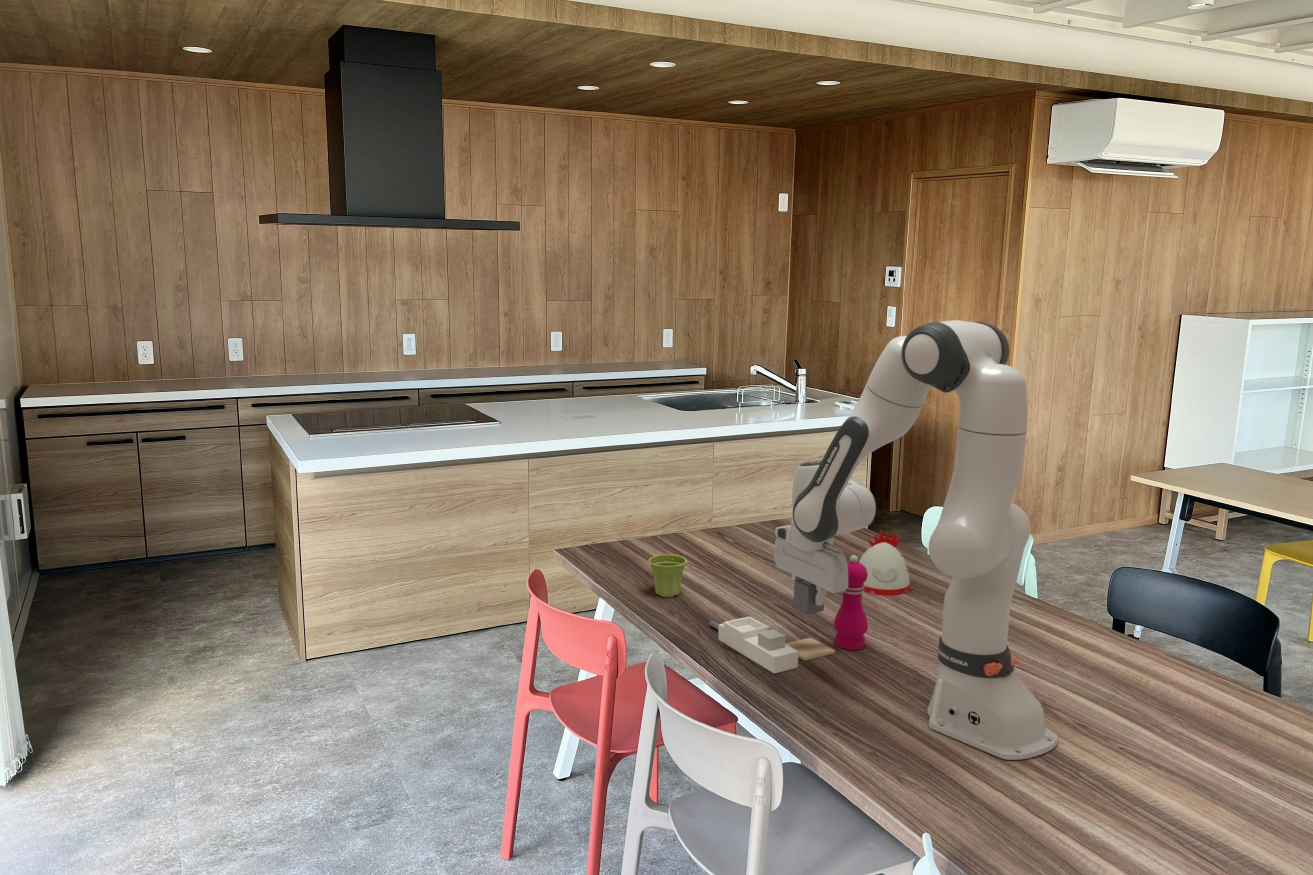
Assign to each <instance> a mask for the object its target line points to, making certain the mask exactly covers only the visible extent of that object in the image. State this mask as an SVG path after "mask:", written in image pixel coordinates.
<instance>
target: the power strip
mask: <svg viewBox="0 0 1313 875" xmlns="http://www.w3.org/2000/svg"><path fill="white" fill-rule="evenodd" d="M709 626H711V627H712V628H714V629H716V630H718V631H717V632H718V635H717V636H718V638H717V639H718V641H719V642H721V643H723V644H725V645H726V646H728V647H730V648H731V649H733V650H735V651H737V652H738V653H739V654H741V655H743V656H744V657H746V658H748V659H750V660H751V661H753V662H754V663H756V664H758V665H759V666H761V667H763V668H764V669H765V670H767V671H769V672H771V673H772V674H779V673H782V672H786V671H790V670H793V669H797V668H798V667H799V657H798V651H797V650H795V649H793V648H792V647H790V646H788V645H786V644H785V643H786V634H784V633H781V632H780V631H778V630H777V629H774V628H772V629H770V627H769V625H766V624H765V623H763V622H761V621H759V620H758V619H755V618H754V617H752V616H745V617H741V618H735V619H730V620H725V621H723V623H718V622H716V621H714V620H710V621H709Z"/></svg>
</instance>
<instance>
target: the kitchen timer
mask: <svg viewBox="0 0 1313 875" xmlns="http://www.w3.org/2000/svg"><path fill="white" fill-rule="evenodd" d="M879 531H880V532H879V535H878V536H879V537H878V536H877V535H876V533H874V534H873V536H874V542H872V541H871V539H870V537H868V543H869V547H868V548H867V549H866V551H864V553H863V554H862V555H861V557H860V559H859V560H858V562H859V563H861V564H863V565H864V566H865V568H866V569H867V574H868V576H867V580H866V581H865V582H864V583H863V584H864V586H865V587H864V592H863V593H866V594H870V595H875V596H882V597H883V596H884V597H886V596H889V597H891V596H892V597H893V596H900V595H904V594H906V593H908V592H909V591H910V586H911V580H910V575H909V571H908V566H907V562H908V560H906V558H904V556H903V555H902V553H901V552H900V550H899V549H898V548H897V547H898V545H899V543H900V541H901V539H902V535H900V536H899V537H898V538H897V535H896V531H893V533H892V536H891V538H890V534H889V531H888V529H887V530H886V532H885V537H884V534H883V529H880V530H879ZM896 538H897V539H896Z"/></svg>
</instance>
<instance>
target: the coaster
mask: <svg viewBox="0 0 1313 875" xmlns="http://www.w3.org/2000/svg"><path fill="white" fill-rule="evenodd" d="M785 644H786V645H788V646H790V647H792V648H793V649H795V650H797V651H798V658H800V659H801V660H803V661H809V660H812V659H813V660H814V659H818V658H820V657H824V656H828V655H833V654H835V653H836V650H835V649H833V648H831V647H830V646H828V645H826V644H823V643H822V642H820V641H818V640H816V639H814V638H812V637H808V638H807V637H806V638H803V639H800V640H799V639H798V640H795V641H790V642H785Z"/></svg>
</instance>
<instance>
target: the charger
mask: <svg viewBox="0 0 1313 875" xmlns="http://www.w3.org/2000/svg"><path fill="white" fill-rule="evenodd" d="M793 589H794V590H793V608H794V609H795V610H797V611H799V612H800V613H803V614H805V615H810V614H815V613H819V612H821V613H822V612H824V611H825V602H824V603H823V605H820V606H817V605H815V604H814V603H813V596H815V595H816V594H817V592H818V590H816V585H814V584H812V583H810V582H808V581H806V580H804V579H800V580H795V582H794V584H793Z"/></svg>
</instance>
